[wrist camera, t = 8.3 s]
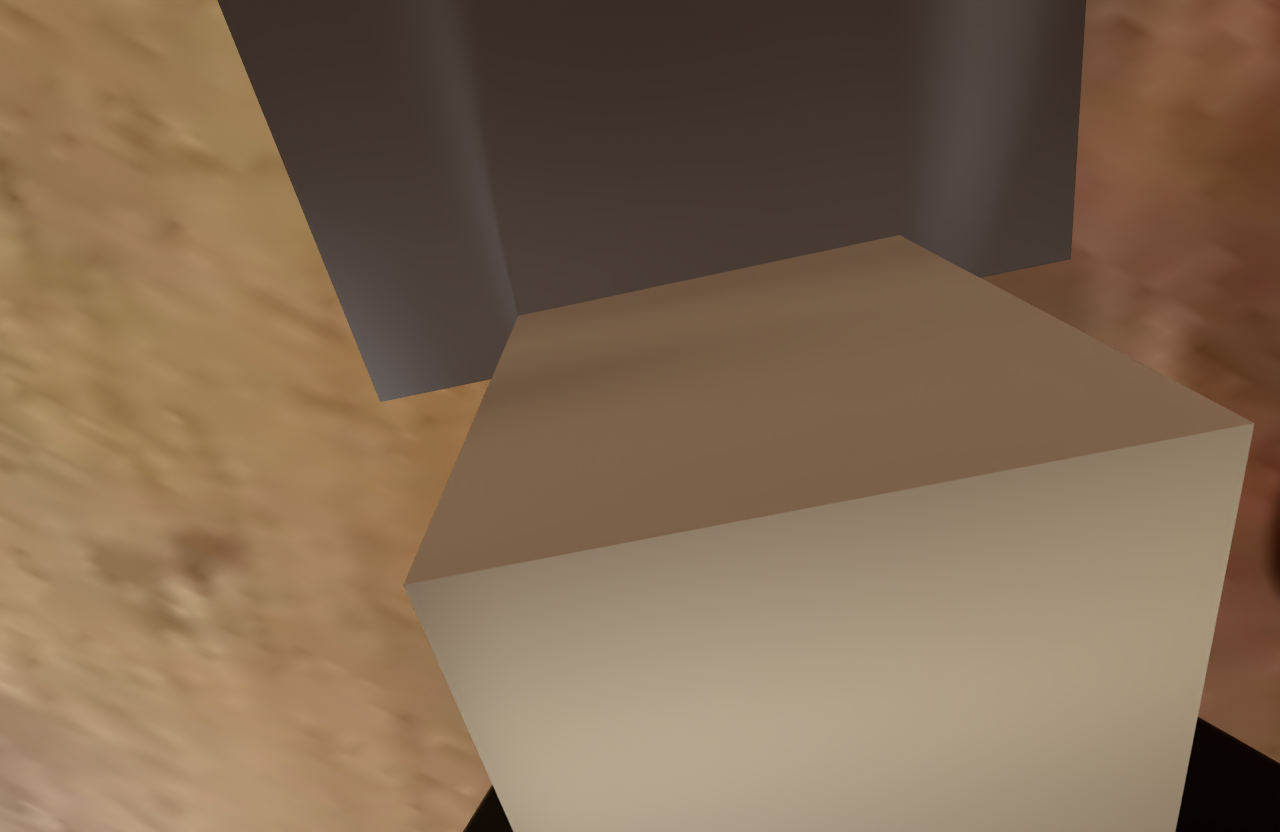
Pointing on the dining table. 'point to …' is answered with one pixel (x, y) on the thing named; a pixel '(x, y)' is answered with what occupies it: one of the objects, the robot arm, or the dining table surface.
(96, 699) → the dining table surface
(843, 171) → the two-tone stacked block
